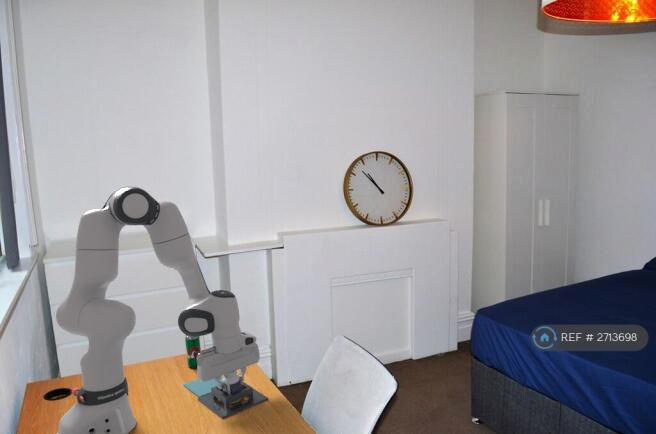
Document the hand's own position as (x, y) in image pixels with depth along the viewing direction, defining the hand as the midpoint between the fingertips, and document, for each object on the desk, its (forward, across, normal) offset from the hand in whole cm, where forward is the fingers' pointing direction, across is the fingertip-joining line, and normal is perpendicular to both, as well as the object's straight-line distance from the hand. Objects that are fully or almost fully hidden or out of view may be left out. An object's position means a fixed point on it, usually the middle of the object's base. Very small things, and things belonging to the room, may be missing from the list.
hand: (231, 384), depth 168 cm
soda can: (+5, +3, +33) cm, 34 cm away
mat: (+5, -1, +15) cm, 16 cm away
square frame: (+5, 0, 0) cm, 5 cm away
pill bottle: (+5, 0, 0) cm, 5 cm away
